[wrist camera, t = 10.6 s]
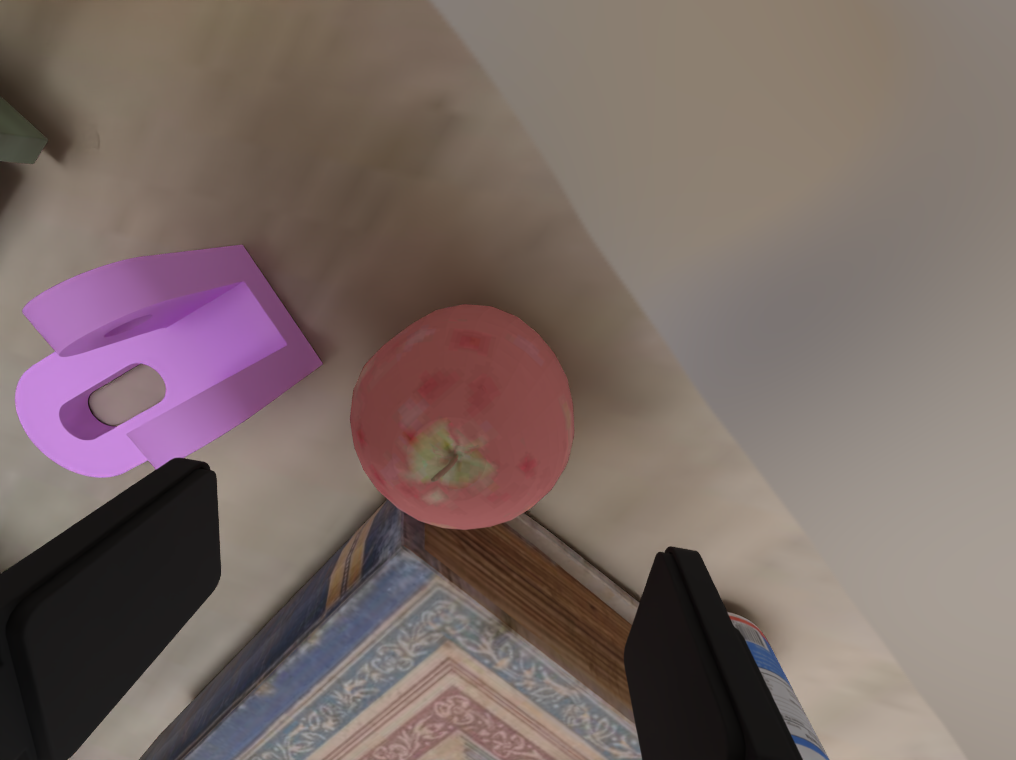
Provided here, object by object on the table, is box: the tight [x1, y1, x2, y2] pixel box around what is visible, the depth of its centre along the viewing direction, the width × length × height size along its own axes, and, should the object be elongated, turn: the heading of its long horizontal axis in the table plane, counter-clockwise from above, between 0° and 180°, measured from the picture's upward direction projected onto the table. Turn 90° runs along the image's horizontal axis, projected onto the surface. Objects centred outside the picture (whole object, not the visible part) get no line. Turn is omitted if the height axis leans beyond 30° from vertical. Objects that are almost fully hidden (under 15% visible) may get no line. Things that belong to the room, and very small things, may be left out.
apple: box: [350, 304, 574, 530], centre depth 16 cm, size 7×7×8 cm
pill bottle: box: [727, 612, 829, 760], centre depth 19 cm, size 6×5×10 cm
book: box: [139, 499, 642, 760], centre depth 23 cm, size 17×7×25 cm
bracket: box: [15, 245, 323, 478], centre depth 18 cm, size 13×6×7 cm, turn 118°
